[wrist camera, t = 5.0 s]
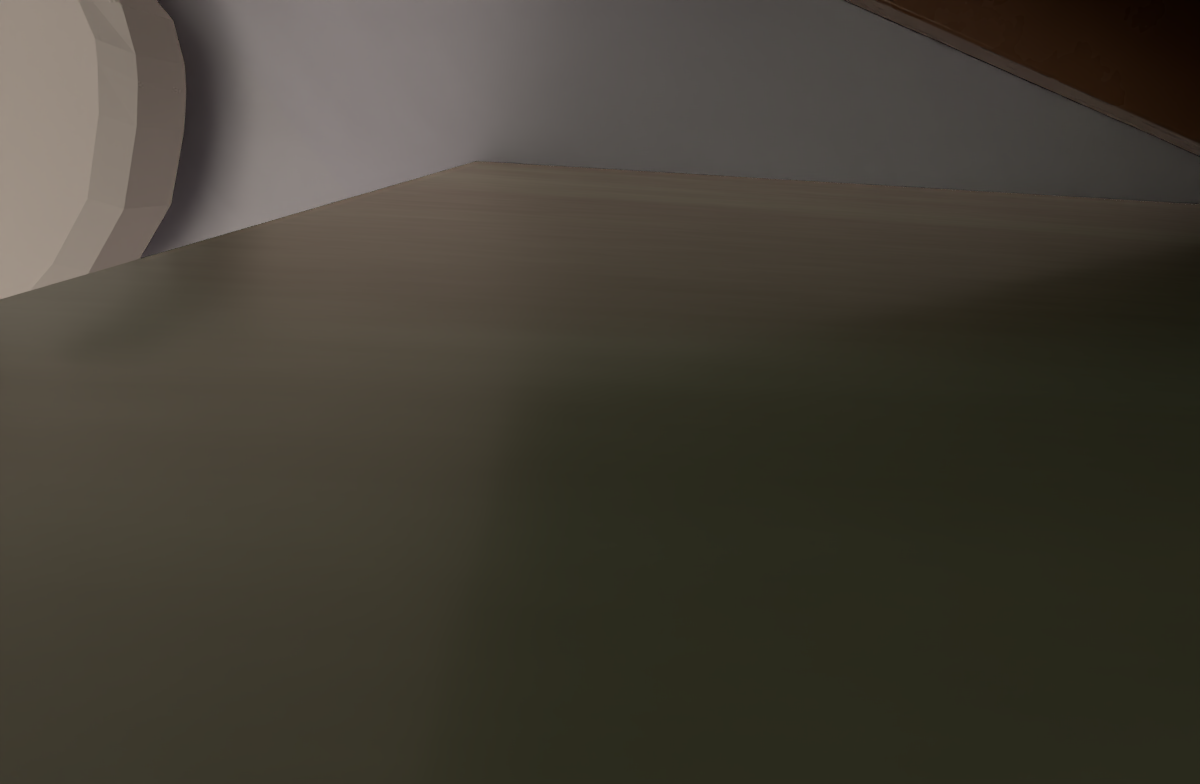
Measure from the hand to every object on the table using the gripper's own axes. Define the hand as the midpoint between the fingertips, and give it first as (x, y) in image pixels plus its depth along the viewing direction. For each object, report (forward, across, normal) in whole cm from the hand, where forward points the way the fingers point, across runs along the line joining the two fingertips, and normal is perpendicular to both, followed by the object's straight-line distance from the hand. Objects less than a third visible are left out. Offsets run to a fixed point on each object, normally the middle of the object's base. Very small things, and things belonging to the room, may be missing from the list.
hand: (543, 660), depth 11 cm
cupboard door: (+13, -10, -3) cm, 17 cm away
